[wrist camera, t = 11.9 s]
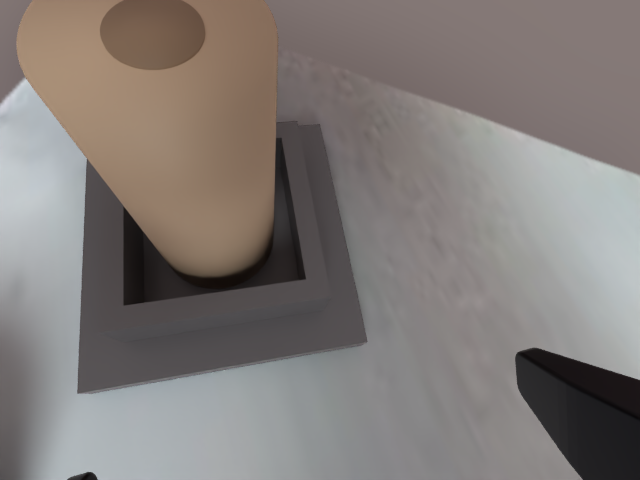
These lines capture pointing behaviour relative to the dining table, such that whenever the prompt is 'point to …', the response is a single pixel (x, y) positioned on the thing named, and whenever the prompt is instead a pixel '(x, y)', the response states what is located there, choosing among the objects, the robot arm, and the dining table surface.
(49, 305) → the dining table surface
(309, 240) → the roll caddy
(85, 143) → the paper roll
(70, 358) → the dining table surface
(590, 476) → the robot arm
